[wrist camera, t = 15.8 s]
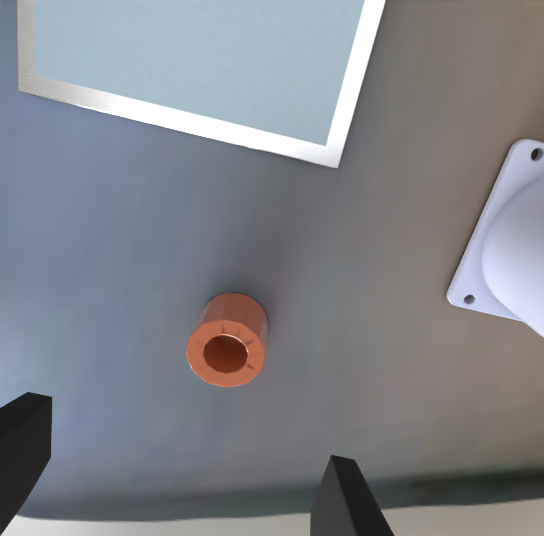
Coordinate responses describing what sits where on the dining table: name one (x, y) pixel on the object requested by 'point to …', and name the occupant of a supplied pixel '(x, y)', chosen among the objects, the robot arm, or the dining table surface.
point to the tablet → (208, 66)
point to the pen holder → (229, 340)
